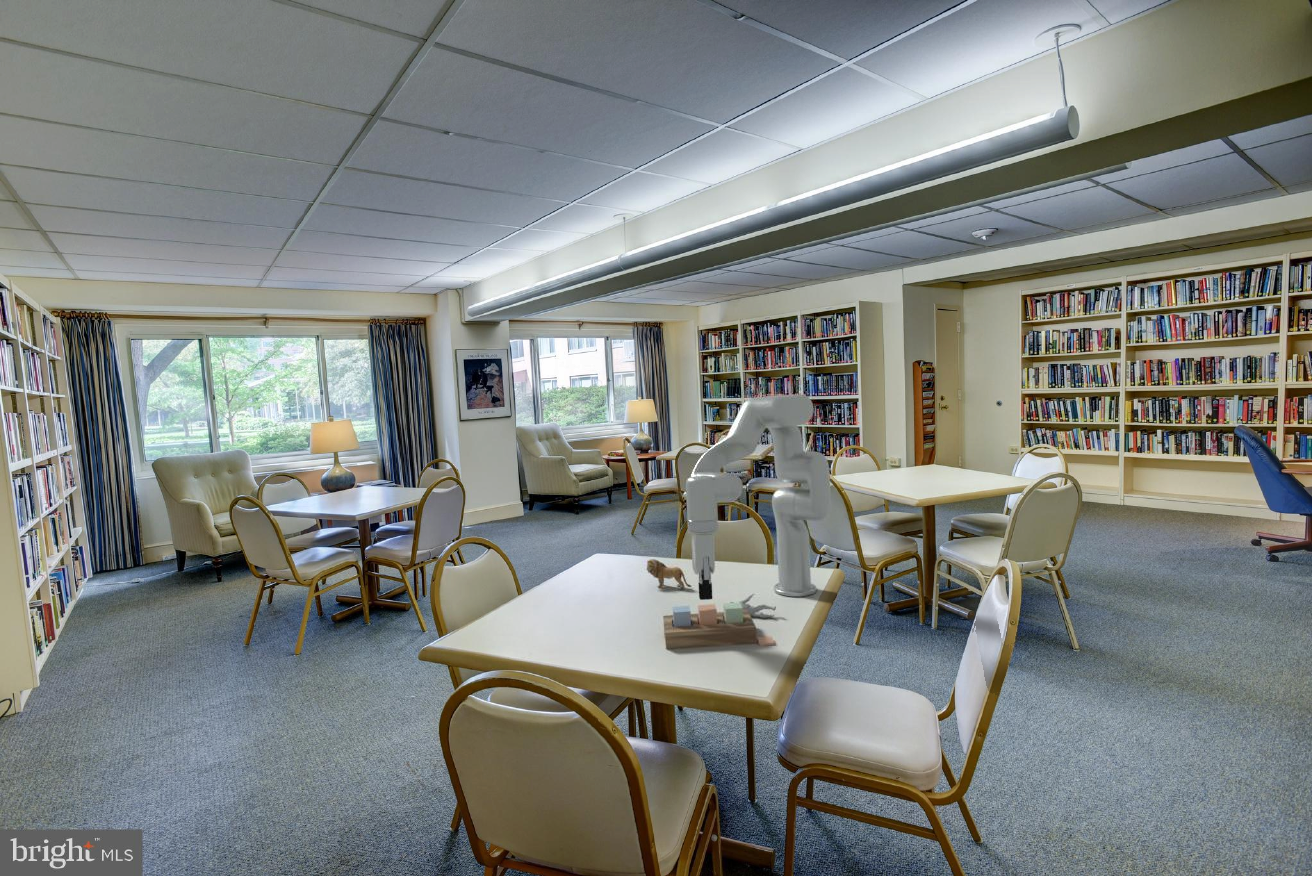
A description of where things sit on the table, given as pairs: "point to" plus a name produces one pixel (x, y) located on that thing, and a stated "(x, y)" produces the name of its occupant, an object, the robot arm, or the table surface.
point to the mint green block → (733, 613)
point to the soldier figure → (755, 611)
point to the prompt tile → (765, 641)
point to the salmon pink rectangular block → (707, 614)
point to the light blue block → (681, 616)
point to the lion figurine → (665, 573)
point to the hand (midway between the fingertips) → (705, 598)
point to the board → (709, 632)
